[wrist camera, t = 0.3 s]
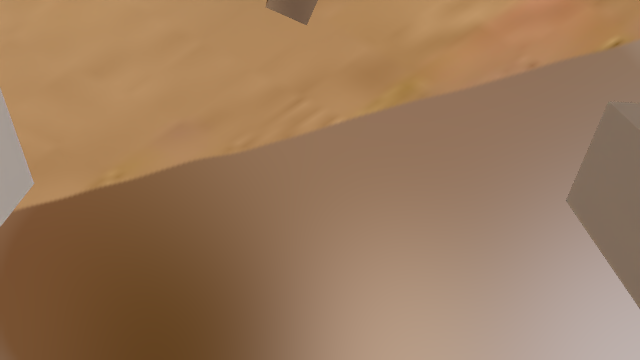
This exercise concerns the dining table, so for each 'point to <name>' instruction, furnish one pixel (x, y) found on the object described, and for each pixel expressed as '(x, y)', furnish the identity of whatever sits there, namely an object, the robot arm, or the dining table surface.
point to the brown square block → (293, 8)
